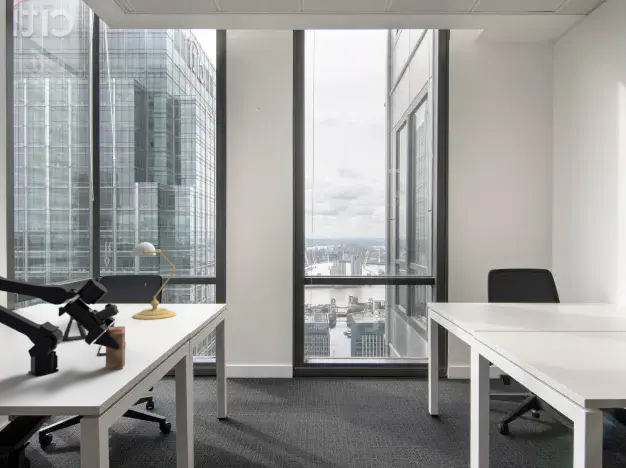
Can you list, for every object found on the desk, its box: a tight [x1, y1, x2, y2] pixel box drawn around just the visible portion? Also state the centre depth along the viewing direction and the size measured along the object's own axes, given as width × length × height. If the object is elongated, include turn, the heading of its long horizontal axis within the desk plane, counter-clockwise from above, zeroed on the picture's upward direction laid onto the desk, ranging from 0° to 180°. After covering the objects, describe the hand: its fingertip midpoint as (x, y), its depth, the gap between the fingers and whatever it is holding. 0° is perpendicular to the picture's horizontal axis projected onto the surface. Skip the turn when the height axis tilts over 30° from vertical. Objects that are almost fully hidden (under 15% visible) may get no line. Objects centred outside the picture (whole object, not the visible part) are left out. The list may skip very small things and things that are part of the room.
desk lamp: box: [129, 241, 177, 321], centre depth 235 cm, size 31×23×40 cm
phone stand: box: [61, 316, 88, 342], centre depth 183 cm, size 9×6×12 cm, turn 114°
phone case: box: [97, 342, 126, 357], centre depth 165 cm, size 9×2×16 cm
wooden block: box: [105, 325, 126, 371], centre depth 143 cm, size 5×5×13 cm
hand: (120, 346), depth 144 cm, fingers closed on wooden block, 5 cm apart
